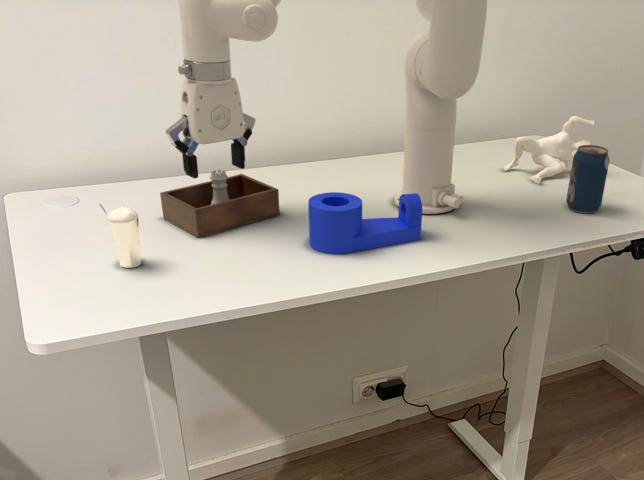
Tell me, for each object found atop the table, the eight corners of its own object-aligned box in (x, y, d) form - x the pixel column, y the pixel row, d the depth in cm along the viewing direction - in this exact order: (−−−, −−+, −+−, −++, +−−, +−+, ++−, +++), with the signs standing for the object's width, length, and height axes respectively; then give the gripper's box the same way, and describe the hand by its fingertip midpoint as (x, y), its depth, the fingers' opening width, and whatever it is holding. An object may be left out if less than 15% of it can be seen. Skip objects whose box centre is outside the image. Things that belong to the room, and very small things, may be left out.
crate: (243, 198, 145) (242, 173, 142) (279, 214, 138) (278, 189, 135) (163, 219, 134) (159, 192, 131) (198, 237, 127) (195, 210, 124)
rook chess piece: (237, 211, 137) (234, 169, 133) (230, 219, 134) (226, 176, 129) (214, 209, 138) (210, 167, 133) (206, 217, 134) (202, 174, 130)
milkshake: (114, 258, 119) (103, 198, 113) (148, 258, 119) (139, 198, 114) (107, 269, 115) (95, 208, 110) (142, 269, 115) (132, 209, 110)
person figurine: (532, 134, 153) (595, 111, 160) (495, 133, 164) (556, 111, 171) (541, 194, 159) (601, 169, 166) (504, 189, 169) (563, 166, 176)
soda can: (606, 209, 148) (618, 149, 142) (588, 217, 144) (599, 156, 137) (576, 200, 152) (586, 142, 146) (558, 207, 148) (568, 148, 141)
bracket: (317, 256, 122) (316, 213, 118) (303, 236, 130) (302, 194, 126) (425, 244, 129) (428, 202, 125) (406, 225, 136) (408, 185, 132)
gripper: (173, 79, 115) (184, 186, 124) (264, 70, 126) (267, 168, 135) (149, 71, 119) (161, 174, 128) (238, 62, 130) (243, 158, 139)
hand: (215, 171), depth 131 cm, fingers open, 9 cm apart
